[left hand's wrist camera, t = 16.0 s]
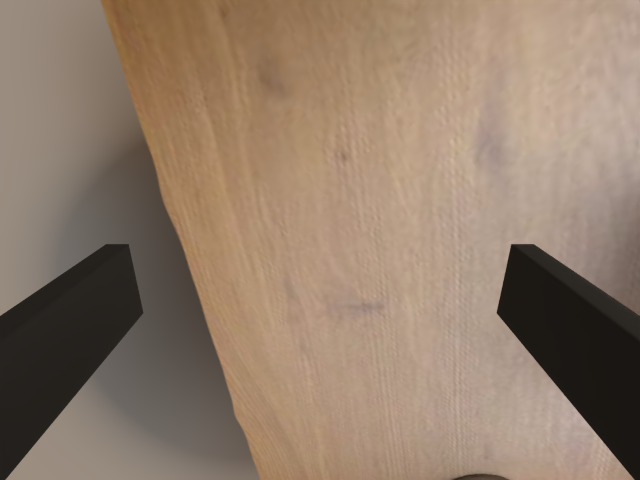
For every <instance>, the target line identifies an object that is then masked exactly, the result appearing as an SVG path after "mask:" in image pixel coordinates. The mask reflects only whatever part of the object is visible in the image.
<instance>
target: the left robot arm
mask: <svg viewBox="0 0 640 480" xmlns="http://www.w3.org/2000/svg"><path fill="white" fill-rule="evenodd" d="M142 314H143V309H142V305H141V300H140V295H139V291H138V286H137V282H136V277H135V272H134V267H133V263H132V258H131V253H130V249H129V245H128V244H106V245H104V246H103V247H102V248H100V249H99V250H97V251H96V252H94V253H93V254H91V255H90V256H88V257H87V258H85V259H84V260H82V261H81V262H79V263H78V264H76V265H75V266H73V267H72V268H71V269H69V270H68V271H66V272H65V273H63V274H62V275H60V276H59V277H57V278H56V279H54V280H53V281H51V282H50V283H48V284H47V285H45V286H44V287H42V288H41V289H40V290H38V291H37V292H35V293H34V294H32V295H31V296H29V297H28V298H26V299H25V300H23V301H22V302H20V303H19V304H17V305H16V306H14V307H13V308H11V309H10V310H8V311H7V312H6V313H4V314H3V315H1V316H0V480H5V479H6V478H7V477H8V476H9V475H10V473H11V472H12V471H13V470H14V469H15V467H16V466H17V465H18V464H19V463H20V461H21V460H22V459H23V458H24V457H25V455H26V454H27V453H28V452H29V450H30V449H31V448H32V447H33V446H34V444H35V443H36V442H37V441H38V440H39V438H40V437H41V436H42V435H43V434H44V432H45V431H46V430H47V429H48V428H49V426H50V425H51V424H52V423H53V421H54V420H55V419H56V418H57V417H58V415H59V414H60V413H61V412H62V411H63V409H64V408H65V407H66V406H67V405H68V403H69V402H70V401H71V400H72V398H73V397H74V396H75V395H76V394H77V392H78V391H79V390H80V389H81V388H82V386H83V385H84V384H85V383H86V382H87V380H88V379H89V378H90V377H91V376H92V374H93V373H94V372H95V371H96V369H97V368H98V367H99V366H100V365H101V363H102V362H103V361H104V360H105V359H106V357H107V356H108V355H109V354H110V353H111V351H112V350H113V349H114V348H115V347H116V345H117V344H118V343H119V342H120V340H121V339H122V338H123V337H124V336H125V335H126V333H127V332H128V331H129V330H130V328H131V327H132V326H133V325H134V324H135V322H136V321H137V320H138V319H139V318H140V316H141V315H142ZM497 314H498V315H499V316H500V318H501V319H502V320H503V321H504V322H505V324H506V325H507V326H508V327H509V328H510V330H511V331H512V332H513V333H514V335H515V336H516V337H517V338H518V339H519V341H520V342H521V343H522V344H523V345H524V347H525V348H526V349H527V350H528V351H529V353H530V354H531V355H532V356H533V357H534V359H535V360H536V361H537V362H538V364H539V365H540V366H541V367H542V368H543V370H544V371H545V372H546V373H547V374H548V376H549V377H550V378H551V379H552V380H553V382H554V383H555V384H556V385H557V386H558V388H559V389H560V390H561V391H562V392H563V394H564V395H565V396H566V397H567V399H568V400H569V401H570V402H571V403H572V405H573V406H574V407H575V408H576V409H577V411H578V412H579V413H580V414H581V415H582V417H583V418H584V419H585V420H586V421H587V423H588V424H589V425H590V426H591V428H592V429H593V430H594V431H595V432H596V434H597V435H598V436H599V437H600V438H601V440H602V441H603V442H604V443H605V444H606V446H607V447H608V448H609V449H610V450H611V452H612V453H613V454H614V455H615V457H616V458H617V459H618V460H619V461H620V463H621V464H622V465H623V466H624V467H625V469H626V470H627V471H628V472H629V473H630V475H631V476H632V477H633V478H634V479H635V480H640V316H639V315H637V314H636V313H634V312H633V311H632V310H630V309H629V308H627V307H626V306H624V305H623V304H621V303H620V302H618V301H617V300H615V299H614V298H612V297H611V296H609V295H608V294H606V293H605V292H603V291H602V290H601V289H599V288H598V287H596V286H595V285H593V284H592V283H590V282H589V281H587V280H586V279H584V278H583V277H581V276H580V275H578V274H577V273H575V272H574V271H572V270H571V269H569V268H568V267H567V266H565V265H564V264H562V263H561V262H559V261H558V260H556V259H555V258H553V257H552V256H550V255H549V254H547V253H546V252H544V251H543V250H541V249H540V248H538V247H537V246H536V245H534V244H511V249H510V253H509V258H508V263H507V267H506V272H505V277H504V281H503V286H502V291H501V295H500V300H499V305H498V309H497Z"/></svg>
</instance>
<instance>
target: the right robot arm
mask: <svg viewBox="0 0 640 480" xmlns="http://www.w3.org/2000/svg"><path fill="white" fill-rule="evenodd" d="M457 480H508V479H506V478H503V477H500V476H496V475H487V474H480V475H471V476H466V477H462V478H459V479H457Z"/></svg>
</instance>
